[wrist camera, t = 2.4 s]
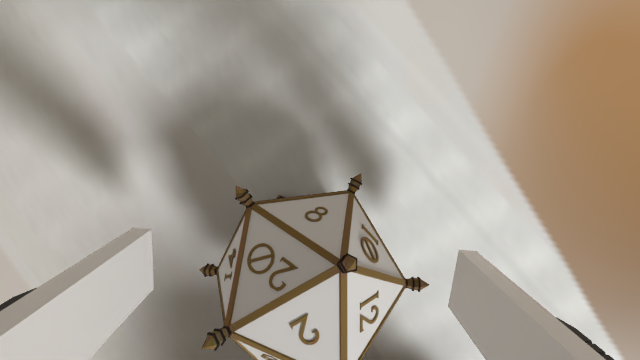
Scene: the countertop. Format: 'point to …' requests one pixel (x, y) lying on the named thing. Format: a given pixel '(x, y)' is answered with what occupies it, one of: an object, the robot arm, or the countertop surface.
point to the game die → (306, 279)
